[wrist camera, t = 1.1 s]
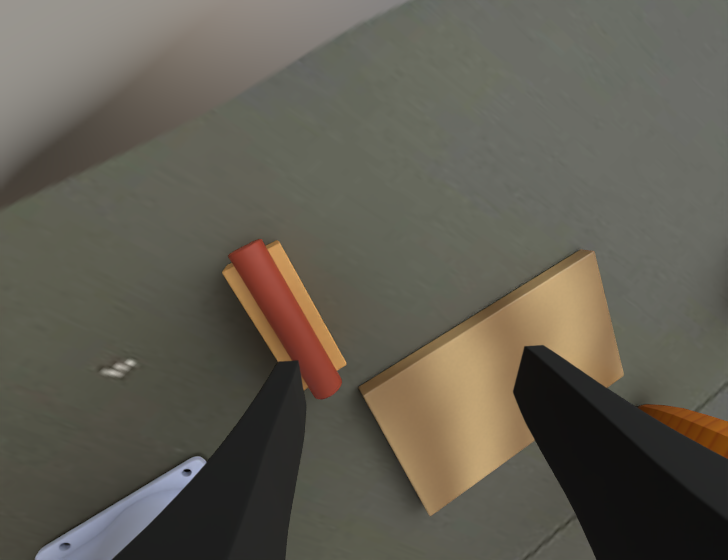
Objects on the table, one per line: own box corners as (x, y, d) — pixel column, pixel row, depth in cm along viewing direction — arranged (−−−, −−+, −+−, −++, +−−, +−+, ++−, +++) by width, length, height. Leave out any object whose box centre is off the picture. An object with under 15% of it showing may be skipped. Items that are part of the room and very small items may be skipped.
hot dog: (299, 384, 21) (305, 412, 18) (219, 256, 18) (211, 264, 15) (343, 357, 21) (356, 380, 18) (272, 229, 19) (274, 232, 16)
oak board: (422, 504, 26) (430, 517, 25) (357, 386, 22) (362, 395, 21) (610, 369, 29) (624, 375, 28) (580, 249, 26) (594, 250, 24)
